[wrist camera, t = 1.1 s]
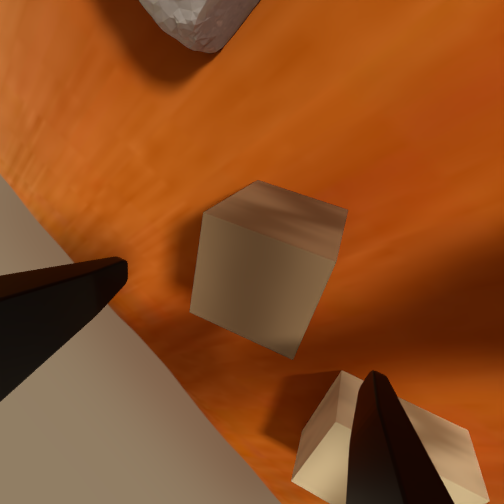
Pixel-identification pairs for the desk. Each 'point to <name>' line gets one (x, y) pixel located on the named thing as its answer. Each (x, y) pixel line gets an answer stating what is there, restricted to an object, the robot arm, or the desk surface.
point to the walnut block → (266, 263)
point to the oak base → (338, 439)
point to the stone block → (200, 20)
